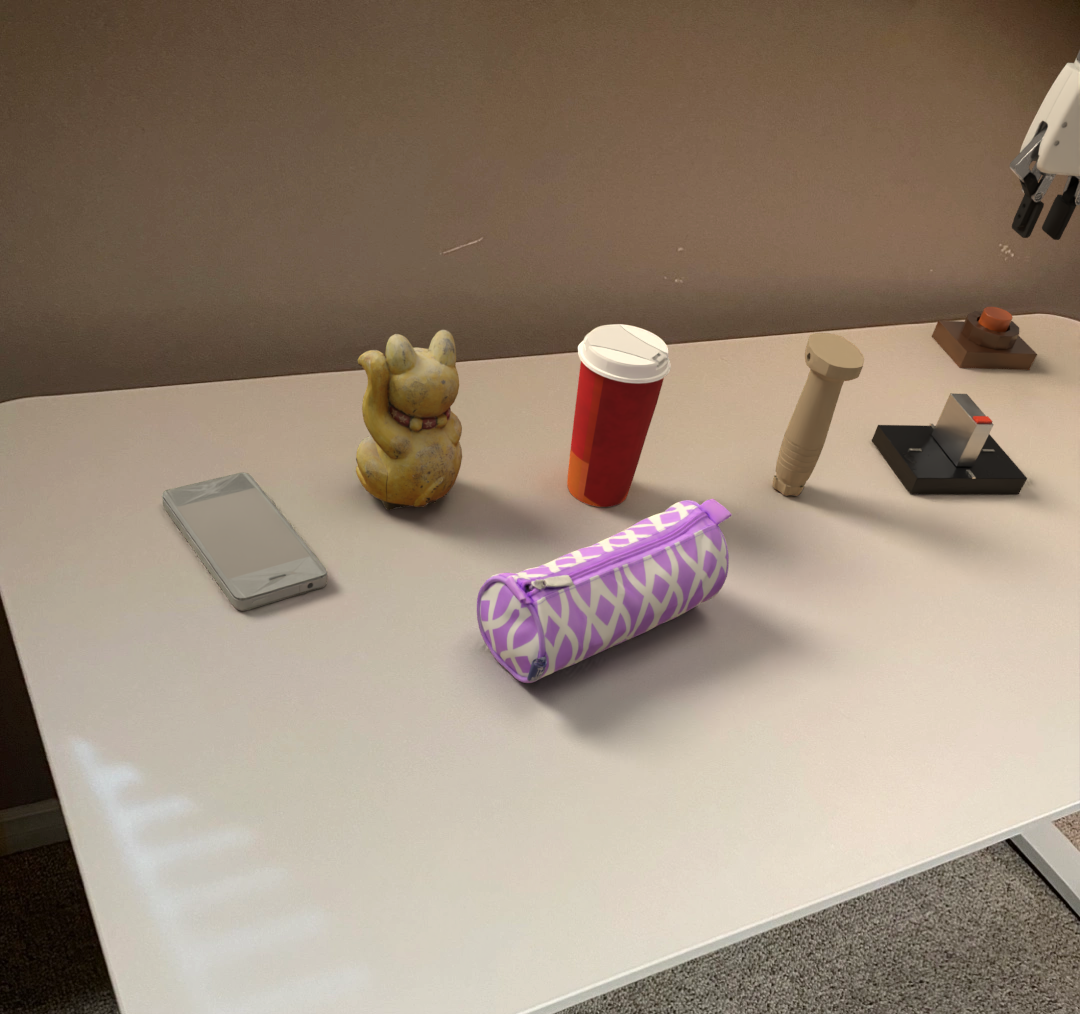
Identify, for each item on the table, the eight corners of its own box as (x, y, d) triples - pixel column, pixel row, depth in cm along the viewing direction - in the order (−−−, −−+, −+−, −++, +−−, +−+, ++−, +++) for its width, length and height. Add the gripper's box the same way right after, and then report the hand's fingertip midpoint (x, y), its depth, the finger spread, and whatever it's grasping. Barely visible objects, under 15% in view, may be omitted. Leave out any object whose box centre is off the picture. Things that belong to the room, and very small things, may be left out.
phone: (249, 482, 97) (248, 470, 96) (332, 585, 89) (332, 573, 88) (160, 503, 93) (158, 491, 93) (238, 614, 85) (237, 601, 84)
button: (997, 320, 137) (1004, 306, 135) (1011, 334, 134) (1018, 320, 133) (972, 319, 136) (978, 305, 134) (986, 333, 133) (992, 319, 132)
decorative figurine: (434, 460, 104) (446, 310, 93) (479, 507, 100) (497, 356, 89) (343, 482, 99) (345, 327, 89) (386, 532, 95) (394, 376, 84)
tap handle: (931, 435, 117) (951, 391, 113) (947, 435, 117) (968, 391, 113) (956, 466, 113) (977, 422, 109) (973, 466, 113) (994, 422, 109)
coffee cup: (653, 487, 106) (689, 344, 95) (614, 525, 101) (648, 378, 90) (579, 454, 108) (607, 310, 97) (538, 490, 103) (562, 342, 92)
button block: (999, 339, 141) (1012, 309, 138) (1029, 370, 136) (1044, 340, 133) (931, 336, 139) (943, 306, 136) (959, 368, 134) (973, 337, 131)
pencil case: (528, 714, 82) (545, 620, 75) (455, 643, 86) (465, 548, 80) (724, 615, 94) (754, 526, 87) (650, 557, 98) (674, 468, 91)
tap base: (974, 441, 121) (983, 424, 120) (1019, 494, 115) (1028, 477, 113) (870, 440, 118) (878, 422, 117) (910, 495, 112) (918, 477, 110)
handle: (774, 507, 106) (823, 366, 96) (755, 469, 111) (800, 331, 100) (819, 508, 107) (873, 369, 97) (798, 471, 112) (848, 334, 101)
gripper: (1160, 54, 118) (1078, 224, 131) (1030, 39, 114) (958, 216, 127) (1202, 77, 113) (1111, 251, 126) (1067, 62, 109) (988, 244, 122)
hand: (1035, 232), depth 127 cm, fingers open, 3 cm apart
